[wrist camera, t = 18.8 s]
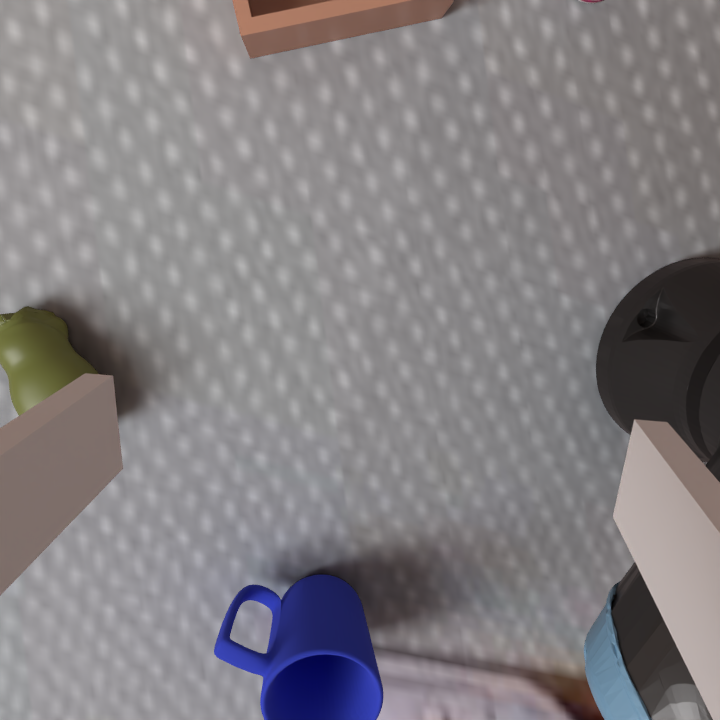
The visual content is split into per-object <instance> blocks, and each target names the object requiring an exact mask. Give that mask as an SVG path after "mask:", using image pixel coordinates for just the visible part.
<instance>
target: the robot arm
mask: <svg viewBox="0 0 720 720" xmlns="http://www.w3.org/2000/svg"><path fill="white" fill-rule="evenodd" d="M596 377H597V385H598V389H599V393H600V396H601V399H602V401H603V404H604V406H605V408H606V410H607V411H608V413H609V414H610V416H611V417H612V418H613V420H614V421H615V422H616V423H617V424H618V425H619V426H620V427H621V428H622V429H623V430H624V431H626V432H627V433H628V434H630V435H631V436H630V441H629V445H628V450H627V455H626V459H625V464H624V468H623V473H622V477H621V482H620V487H619V491H618V496H617V500H616V505H615V509H614V514H613V518H614V520H615V522H616V524H617V526H618V528H619V530H620V532H621V534H622V536H623V538H624V540H625V542H626V544H627V546H628V548H629V551H630V553H631V555H632V557H633V559H634V561H635V563H634V564H633V565H632V567H631V568H630V569H629V571H628V572H627V573H626V575H625V576H624V577H623V579H622V580H621V581H620V582H619V583H617V584H615V585H614V586H613V587H612V589H611V590H610V592H609V595H608V598H607V602H606V605H605V607H604V608H603V610H602V611H601V613H600V615H599V616H598V618H597V619H596V621H595V622H594V624H593V625H592V627H591V629H590V630H589V632H588V634H587V637H586V640H585V645H584V657H585V663H586V665H585V671H586V676H587V680H588V683H589V686H590V689H591V692H592V694H593V697H594V699H595V702H596V704H597V706H598V708H599V710H600V712H601V714H602V716H603V718H604V719H605V720H720V259H718V258H695V259H689V260H684V261H680V262H677V263H674V264H671V265H669V266H666V267H664V268H662V269H660V270H658V271H656V272H655V273H653V274H651V275H650V276H648V277H647V278H645V279H644V280H642V281H641V282H640V283H639V284H637V285H636V286H635V287H634V288H633V289H632V290H631V291H630V292H629V293H628V294H627V295H626V296H625V297H624V298H623V300H622V301H621V302H620V303H619V305H618V306H617V307H616V309H615V310H614V312H613V313H612V315H611V317H610V319H609V321H608V322H607V325H606V327H605V329H604V332H603V334H602V337H601V340H600V344H599V348H598V353H597V361H596ZM701 461H702V462H708V463H707V464H706V466H705V465H704V464H703V463H702V462H701ZM122 469H123V465H122V455H121V446H120V436H119V427H118V417H117V408H116V398H115V389H114V379H113V376H112V375H100V374H88V373H85V374H83V375H82V376H80V377H79V378H77V379H76V380H74V381H72V382H71V383H69V384H68V385H66V386H65V387H63V388H62V389H60V390H59V391H57V392H55V393H54V394H52V395H51V396H49V397H48V398H46V399H45V400H43V401H42V402H40V403H38V404H37V405H35V406H34V407H32V408H31V409H29V410H28V411H26V412H25V413H23V414H22V415H20V416H18V417H17V418H15V419H14V420H12V421H11V422H9V423H8V424H6V425H5V426H3V427H1V428H0V595H1V594H2V593H3V592H4V591H5V590H6V589H7V588H8V587H9V586H10V585H11V584H12V583H13V582H14V581H15V580H16V579H17V578H18V577H19V576H20V575H21V573H22V572H23V571H24V570H25V569H26V568H27V567H28V566H29V565H30V564H31V563H32V562H33V561H34V560H35V559H36V558H37V557H38V556H39V555H40V554H41V553H42V552H43V551H44V550H45V549H46V548H47V547H48V546H49V545H50V543H51V542H52V541H53V540H54V539H55V538H56V537H57V536H58V535H59V534H60V533H61V532H62V531H63V530H64V529H65V528H66V527H67V526H68V525H69V524H70V523H71V522H72V521H73V520H74V519H75V518H76V517H77V516H78V514H79V513H80V512H81V511H82V510H83V509H84V508H85V507H86V506H87V505H88V504H89V503H90V502H91V501H92V500H93V499H94V498H95V497H96V496H97V495H98V494H99V493H100V492H101V491H102V490H103V489H104V488H105V487H106V485H107V484H108V483H109V482H110V481H111V480H112V479H113V478H114V477H115V476H116V475H117V474H118V473H119V472H120V471H121V470H122Z"/></svg>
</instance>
